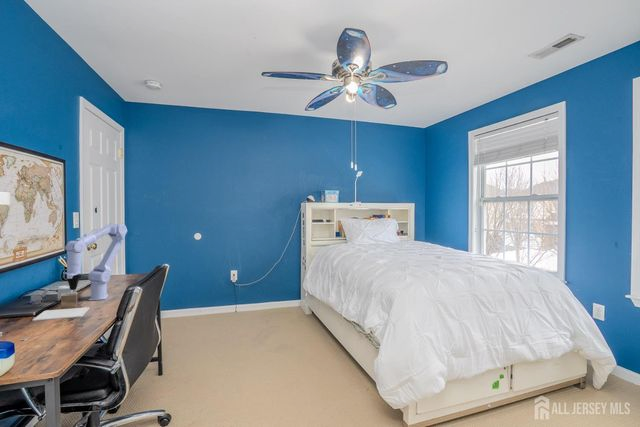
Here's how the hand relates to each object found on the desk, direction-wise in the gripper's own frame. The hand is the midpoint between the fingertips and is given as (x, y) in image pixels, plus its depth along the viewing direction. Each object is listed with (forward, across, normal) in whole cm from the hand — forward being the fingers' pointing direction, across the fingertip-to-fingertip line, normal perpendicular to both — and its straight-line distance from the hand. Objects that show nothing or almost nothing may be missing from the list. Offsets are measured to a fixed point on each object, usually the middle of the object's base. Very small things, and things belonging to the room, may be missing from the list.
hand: (73, 289), depth 161 cm
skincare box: (+9, -12, -6) cm, 16 cm away
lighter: (+9, -8, -16) cm, 20 cm away
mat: (+8, +15, 0) cm, 17 cm away
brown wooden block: (+8, +6, 0) cm, 10 cm away
